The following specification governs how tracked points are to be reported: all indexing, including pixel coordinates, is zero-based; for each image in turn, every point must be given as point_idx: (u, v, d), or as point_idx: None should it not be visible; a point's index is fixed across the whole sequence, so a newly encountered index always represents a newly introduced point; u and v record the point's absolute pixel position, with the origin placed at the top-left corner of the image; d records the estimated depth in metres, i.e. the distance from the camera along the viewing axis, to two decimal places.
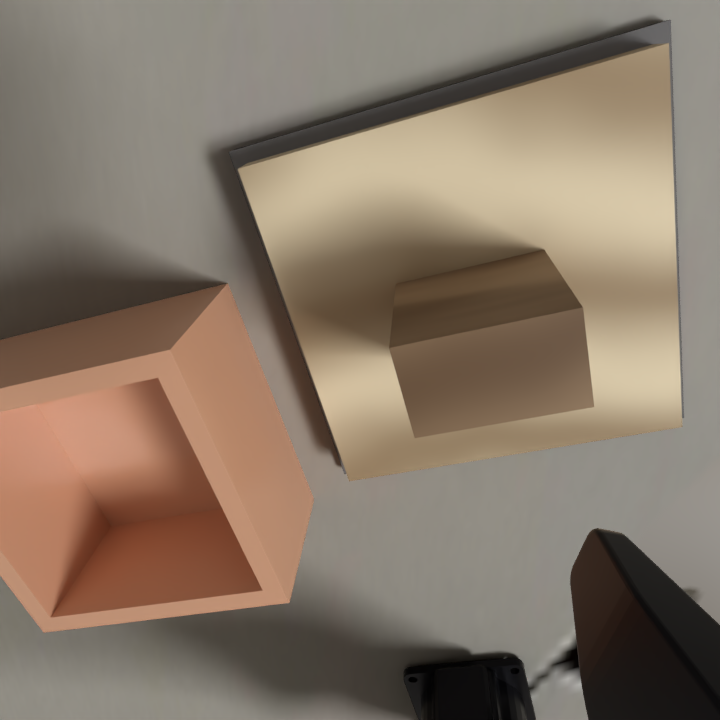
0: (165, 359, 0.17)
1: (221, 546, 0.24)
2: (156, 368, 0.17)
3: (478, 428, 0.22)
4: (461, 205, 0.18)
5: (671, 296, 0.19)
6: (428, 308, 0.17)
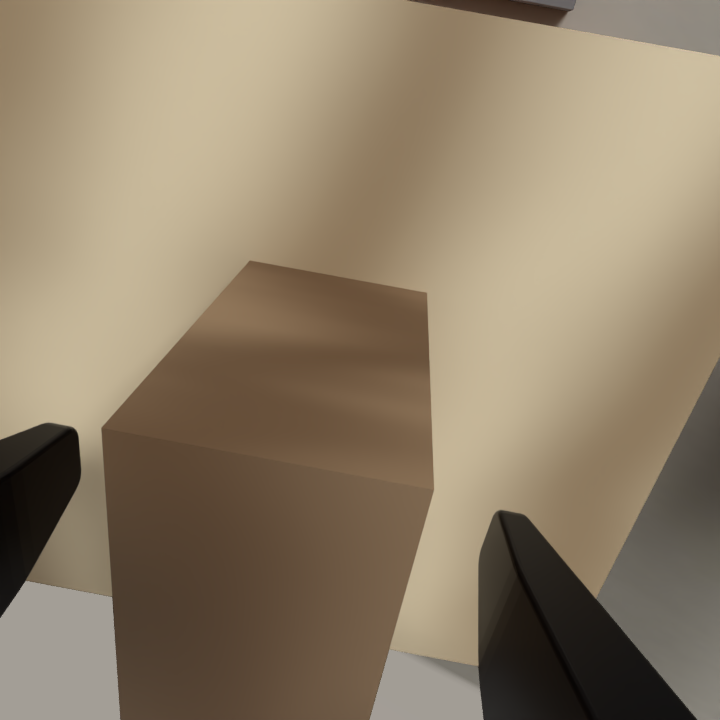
0: None
1: None
2: None
3: (569, 485, 0.11)
4: (132, 359, 0.11)
5: (458, 26, 0.08)
6: None
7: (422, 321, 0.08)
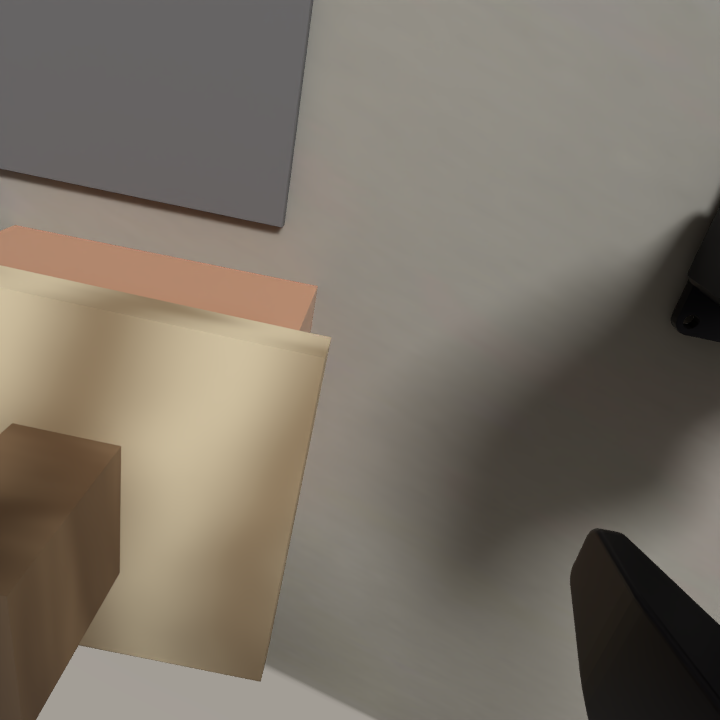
0: None
1: None
2: None
3: (234, 557, 0.17)
4: None
5: (106, 318, 0.14)
6: None
7: (96, 474, 0.14)
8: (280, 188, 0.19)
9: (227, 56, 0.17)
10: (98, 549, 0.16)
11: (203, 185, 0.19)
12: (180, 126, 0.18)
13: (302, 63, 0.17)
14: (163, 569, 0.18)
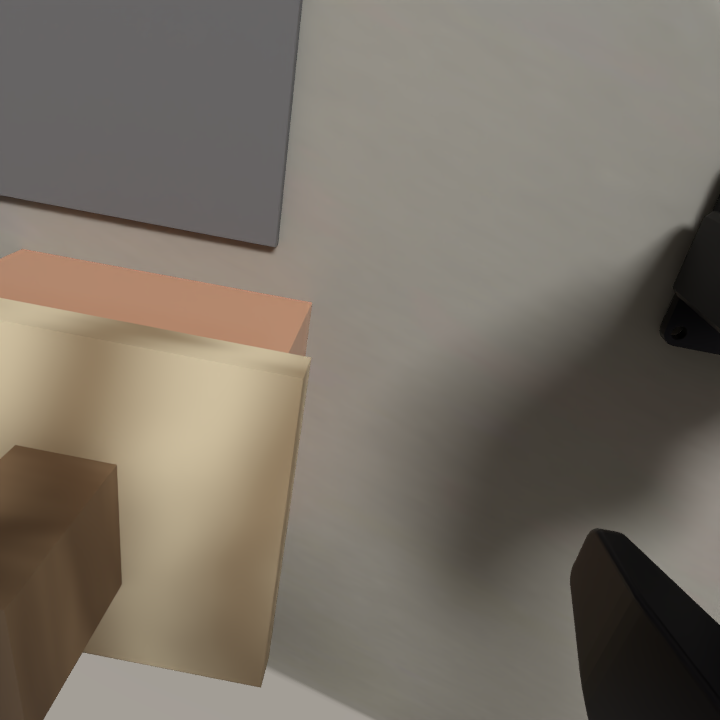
0: None
1: None
2: None
3: (229, 568, 0.18)
4: None
5: (97, 345, 0.15)
6: None
7: (92, 492, 0.15)
8: (272, 210, 0.19)
9: (218, 86, 0.18)
10: (97, 562, 0.16)
11: (199, 208, 0.19)
12: (175, 153, 0.19)
13: (290, 91, 0.17)
14: (162, 580, 0.18)
